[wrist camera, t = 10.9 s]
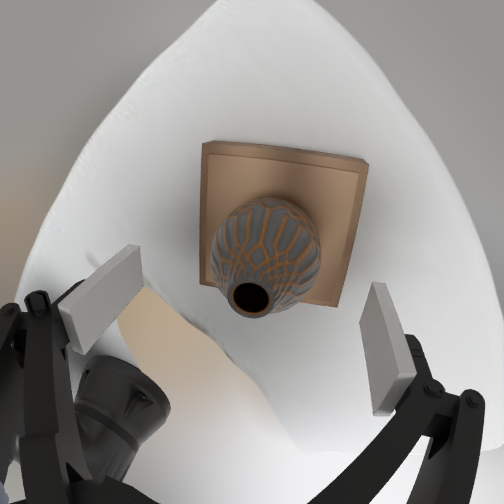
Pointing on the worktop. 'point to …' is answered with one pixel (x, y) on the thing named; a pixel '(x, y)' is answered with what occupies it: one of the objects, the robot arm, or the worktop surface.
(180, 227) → the worktop surface
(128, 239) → the worktop surface
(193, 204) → the worktop surface
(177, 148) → the worktop surface
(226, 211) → the tray
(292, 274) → the vase
